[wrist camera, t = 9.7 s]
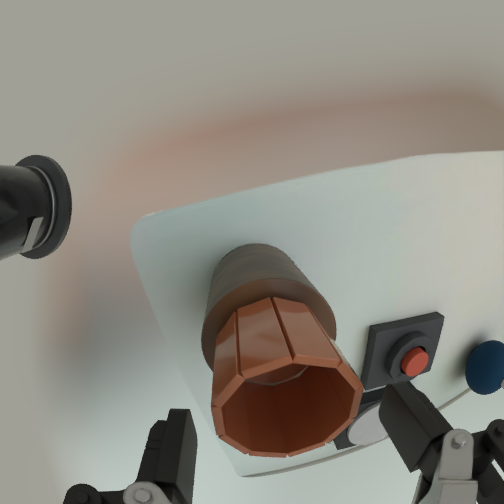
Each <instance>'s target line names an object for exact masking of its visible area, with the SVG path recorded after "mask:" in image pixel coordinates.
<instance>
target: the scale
mask: <svg viewBox="0 0 504 504" xmlns="http://www.w3.org/2000/svg"><path fill="white" fill-rule="evenodd" d="M406 383H407V384H408V385H409V387H410V388H411V389H413V388H415V387H414V386H413V385H412V383H411V382H410V381H406ZM415 389H416V388H415ZM384 390H385V388H383V389H379V390H375V391H371V392H367V393H363V394H362V397H361V401H360V405H359V409H358V413H357V416H356V417H354V421H353V422H352V423H351V424H350V425H348V426H347V427H346V428H345V429H344V430H343V431H342V432H341V433H340V434H339V435H337V436H336V437H335V438H334V443H335V445H336V448H337V450H339V449H344V448H348V447H351V446H355V445H367V444H371V443H374V442H377V441H379V440H381V439H383V438H385V437H386V436H388V434H387V432H386V430H385V429H384V427H383V425H382V424H381V422H380V419H379V414H378V412H379V407H380V404H381V400H382V397H383V393H384Z"/></svg>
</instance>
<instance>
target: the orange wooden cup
mask: <svg viewBox="0 0 504 504" xmlns="http://www.w3.org/2000/svg"><path fill="white" fill-rule="evenodd" d="M308 365H309V366H308ZM307 366H308V367H307ZM306 367H307V368H306ZM305 368H306V369H305ZM304 369H305V370H304ZM303 370H304V372H303V373H302V374H301V375H300V376H299V377H296V378H293V379H291V380H288V379H290V378H292V377H294V376H296V375H298V374H299V373H300V372H302V371H303ZM245 379H247V380H249V381H252V382H256V383H251V382H245ZM285 380H288V381H285ZM282 381H285V382H282ZM278 382H282V383H279V384H276V385H273V386H271V385H263V384H271V383H278ZM257 383H263V384H257ZM362 386H363V384H362V382H361V381H360V379H359V378H358V376H357V375H356V373H355V372H354V370H353V369H352V367H351V366H350V364H349V363H348V361H347V360H346V358H345V356H344V355H343V353H342V352H341V350H340V349H339V347H338V346H337V344H336V343H335V341H334V340H333V338H332V337H331V335H330V334H329V332H328V331H327V329H326V328H325V326H324V325H323V324H322V323H321V321H320V320H319V319H318V318H317V316H316V315H315V314H314V313H313V311H312V310H311V309H310V308H309V306H306V305H305V304H304V303H299V302H295V301H290V300H286V299H281V298H277V297H273V299H272V302H271V299H270V297H268V298H266V299H263V300H260V301H258V302H255V303H252V304H250V305H247V306H244V307H241V308H239V309H237V312H235V311H234V312H233V314H232V315H231V317H230V318H229V319H228V321H227V322H226V324H225V325H224V327H223V328H222V329H221V331H220V332H219V334H218V335H217V339H216V346H215V358H214V370H213V384H212V397H211V411H212V416H213V421H214V426H215V431H216V435H219V438H220V439H221V440H223V441H224V442H226V443H227V444H229V445H231V446H232V447H234V448H235V449H237V450H239V451H240V452H242V453H244V454H247V453H249V455H250V456H262V457H280V458H285V457H286V456H287V454H288V456H289V457H292V456H295V455H298V454H301V453H304V452H307V451H310V450H313V449H316V448H319V447H321V446H324V445H325V442H326V443H329V442H331V441H332V440H333V439H334V438H335V437H336V436H337V435H339V434H340V433H341V432H342V431H343V430H344V429H345V428H346V427H347V426H348V425H350V424H351V423H352V422H353V421H354V417H356V416H357V413H358V409H359V405H360V401H361V397H362V393H363V387H362Z"/></svg>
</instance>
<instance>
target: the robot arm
mask: <svg viewBox="0 0 504 504" xmlns="http://www.w3.org/2000/svg"><path fill="white" fill-rule="evenodd" d="M57 215H58V198H57V192H56V188H55V185H54V183H53V181H52V179H51V177H50V176H49V174H48V173H47V172H46V171H45V170H43V169H42V168H40V167H37V166H7V165H5V166H4V165H0V260H3V259H5V258H8V257H10V256H13V255H16V254H19V253H21V252H22V253H24V252H27V251H29V250H32V249H35V248H38V247H40V246H42V245H43V244H44V243H46V241H47V240H48V239H49V238H50V236H51V234H52V232H53V230H54V228H55V225H56V221H57ZM378 414H379V419H380V422H381V424H382V425H383V427H384V429H385V430H386V432H387V434H388V435H389V437H390V438H391V440H392V442H393V444H394V445H395V447H396V449H397V451H398V452H399V454H400V456H401V457H402V459H403V461H404V463H405V464H406V466H407V468H408V470H409V471H410V473H411V472H413V471H415V470H418V469H420V470H421V474H420V476H419V480H418V483H417V487H416V491H415V494H414V497H413V501H412V504H476V501H477V502H478V504H504V481H503V479H502V478H501V476H500V475H499V473H498V472H497V470H496V469H495V468H494V466H493V465H492V461H493V460H494V459H495V461H496V462H497V463H498V465H499V466H500V467H501V469H502V470H503V472H504V420H502V419H497V420H494V421H492V422H491V423H490V424H489V425H488V427H487V429H486V430H484V431H480V432H477V433H472V434H470V433H469V432H468V431H466V430H463V429H453V428H452V427H451V425H450V424H449V423H448V422H447V420H446V419H445V418H444V417H443V416H442V415H441V413H440V412H439V411H438V410H437V408H435V406H434V405H433V404H432V403H431V402H430V400H429V399H428V398H427V397H426V395H425V394H424V393H422V392H420V391H419V390H417V389H415V388H413V389H411V388H410V387H409V385H408V384H407V383H406V382H405V381H403V380H402V381H398V382H395V383H391V384H388V385H386V387H385V390H384V393H383V397H382V400H381V404H380V407H379V412H378ZM145 447H146V449H145V450H144V454H143V457H142V461H141V465H140V469H139V472H138V476H137V479H136V481H135V482H134V483H133V484H131V485H129V486H128V487H127V488H126V489H124V490H121V491H108V492H107V491H106V492H98V491H97V490H96V489H95V488H94V487H92V486H90V485H87V484H77V485H74V486H72V487H71V488H70V489H69V490H68V491H67V493H66V496H65V499H64V502H63V504H192V497H193V485H194V475H195V474H194V473H195V464H196V454H197V433H196V429H195V426H194V422H193V419H192V415H191V412H190V409H170V411H169V414H168V418H167V421H165V420H158V421H157V422H156V423H155V424H154V425H153V427H152V428H151V429H150V432H149V436H148V441H147V443H146V446H145Z"/></svg>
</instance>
